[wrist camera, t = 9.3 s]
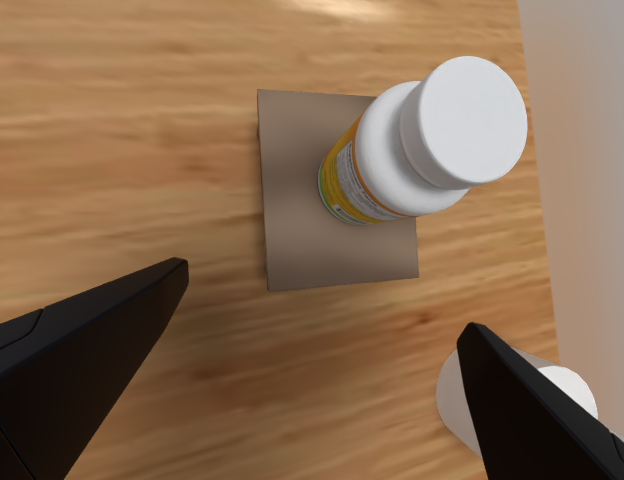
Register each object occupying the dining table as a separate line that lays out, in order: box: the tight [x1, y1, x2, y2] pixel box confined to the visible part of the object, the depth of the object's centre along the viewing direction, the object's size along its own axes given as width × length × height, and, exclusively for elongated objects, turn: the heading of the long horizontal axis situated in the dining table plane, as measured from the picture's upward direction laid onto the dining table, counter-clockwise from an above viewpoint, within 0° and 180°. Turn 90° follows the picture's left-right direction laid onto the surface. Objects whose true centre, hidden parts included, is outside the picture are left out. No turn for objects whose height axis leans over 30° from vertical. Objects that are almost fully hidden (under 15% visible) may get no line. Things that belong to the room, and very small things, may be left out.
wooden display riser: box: [257, 89, 419, 292], centre depth 20 cm, size 12×10×4 cm
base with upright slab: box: [436, 346, 624, 460], centre depth 20 cm, size 9×9×12 cm
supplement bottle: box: [318, 56, 527, 225], centre depth 14 cm, size 5×5×10 cm
